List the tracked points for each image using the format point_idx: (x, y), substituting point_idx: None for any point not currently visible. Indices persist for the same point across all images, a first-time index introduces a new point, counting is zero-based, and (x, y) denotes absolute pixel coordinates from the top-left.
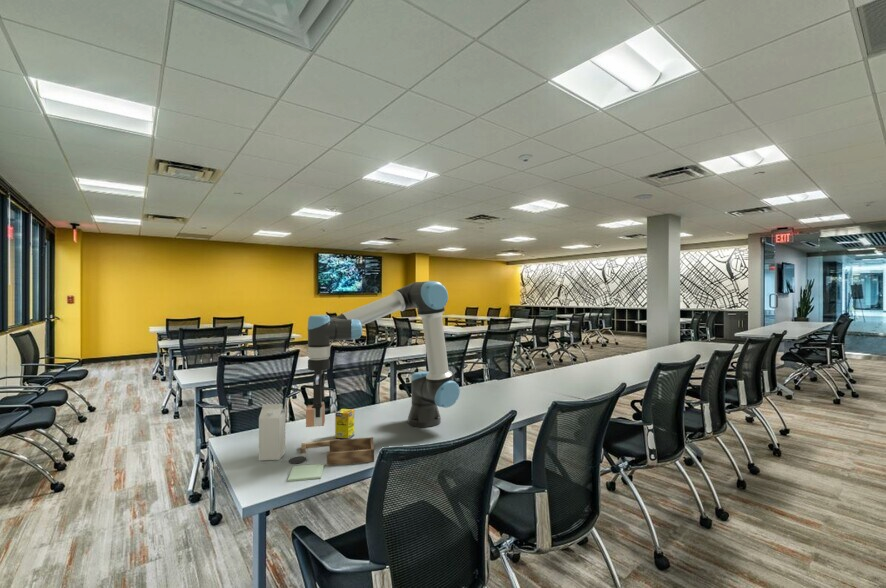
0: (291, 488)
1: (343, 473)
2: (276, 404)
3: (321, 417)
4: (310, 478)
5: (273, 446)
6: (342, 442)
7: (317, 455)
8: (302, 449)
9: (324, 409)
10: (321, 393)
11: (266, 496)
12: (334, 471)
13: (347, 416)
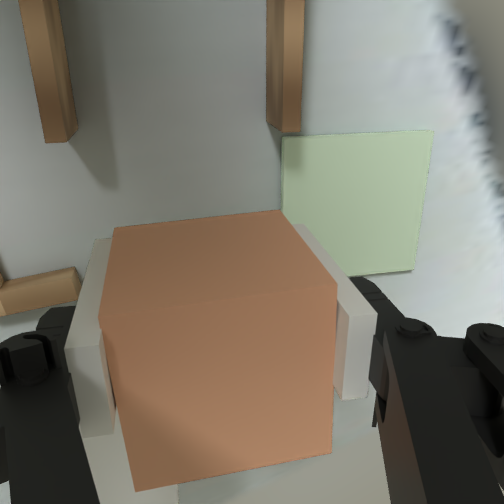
0: (474, 237)
1: (408, 12)
2: None
3: (330, 261)
4: (425, 178)
5: None
6: (51, 38)
7: (126, 194)
8: (76, 292)
9: (185, 279)
10: (495, 479)
11: (500, 304)
12: (369, 68)
13: None
